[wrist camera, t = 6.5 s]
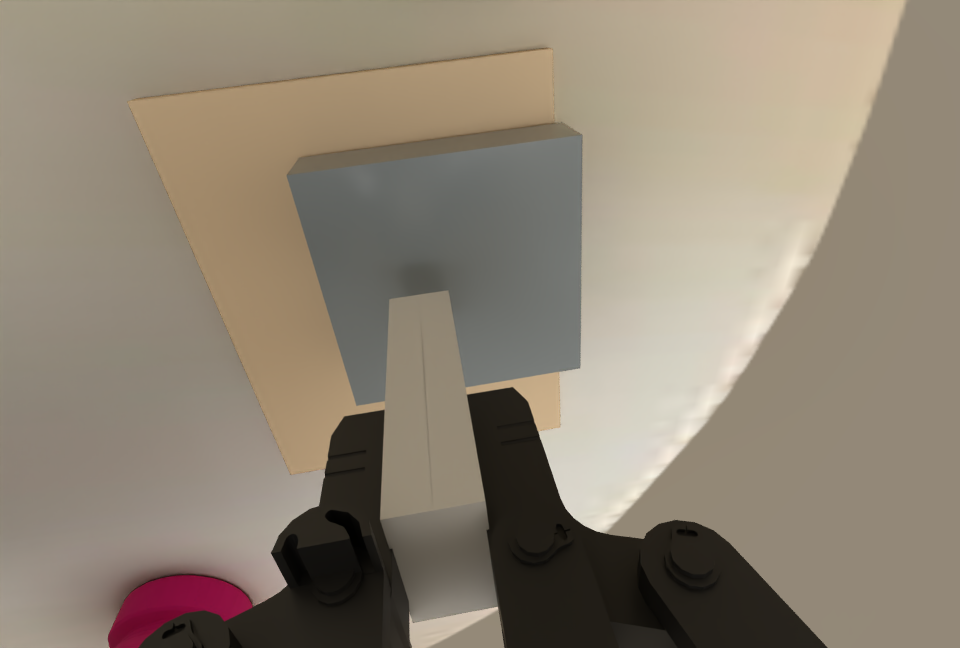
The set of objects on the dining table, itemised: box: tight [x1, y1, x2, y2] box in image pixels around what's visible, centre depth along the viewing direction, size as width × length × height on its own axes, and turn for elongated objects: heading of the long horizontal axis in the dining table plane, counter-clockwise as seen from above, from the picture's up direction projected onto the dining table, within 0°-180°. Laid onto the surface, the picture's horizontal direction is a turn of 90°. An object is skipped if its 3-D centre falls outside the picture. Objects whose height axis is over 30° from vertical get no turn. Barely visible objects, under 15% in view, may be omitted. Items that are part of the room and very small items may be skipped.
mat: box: [127, 48, 560, 475], centre depth 18 cm, size 12×15×1 cm
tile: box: [286, 122, 582, 406], centre depth 16 cm, size 2×8×8 cm
